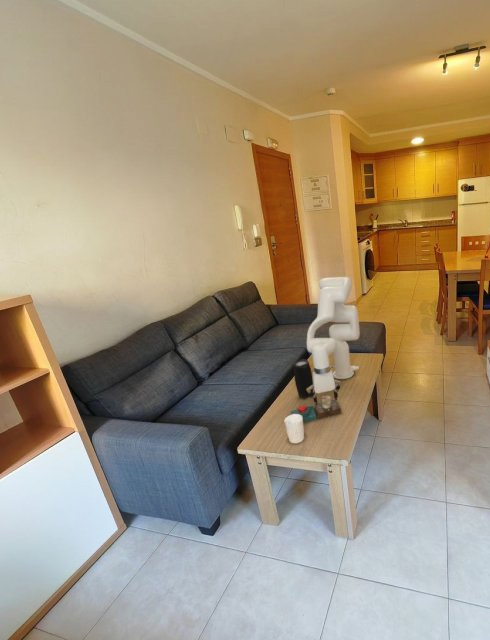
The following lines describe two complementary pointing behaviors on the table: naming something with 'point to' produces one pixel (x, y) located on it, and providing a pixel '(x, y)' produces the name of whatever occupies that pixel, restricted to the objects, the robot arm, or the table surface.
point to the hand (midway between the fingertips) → (326, 401)
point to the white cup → (294, 428)
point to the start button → (302, 409)
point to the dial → (326, 401)
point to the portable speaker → (303, 377)
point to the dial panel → (327, 409)
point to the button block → (306, 414)
